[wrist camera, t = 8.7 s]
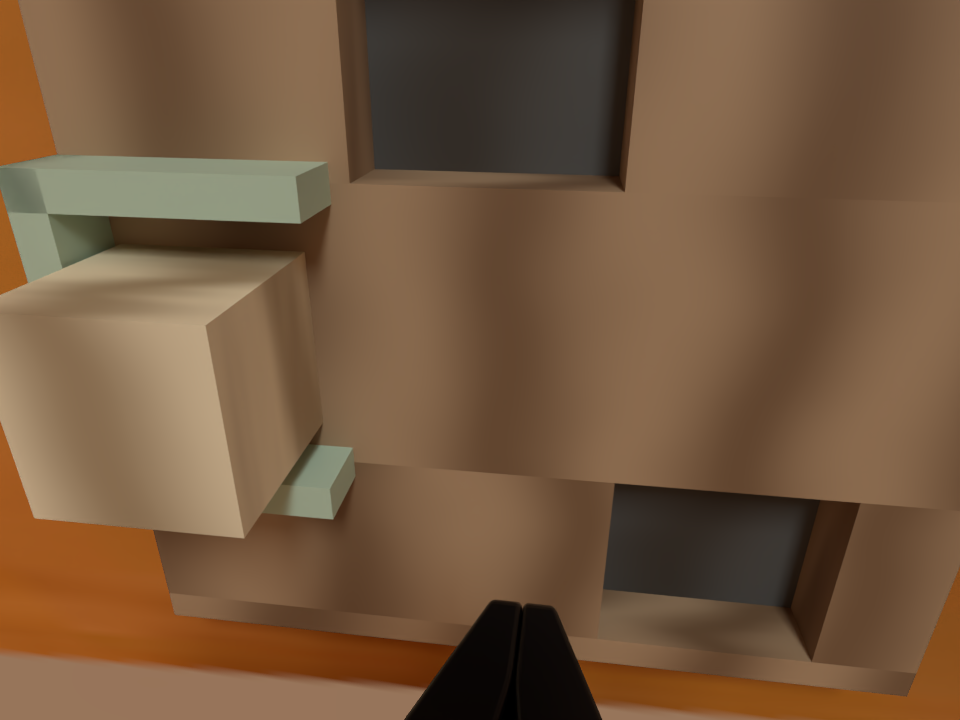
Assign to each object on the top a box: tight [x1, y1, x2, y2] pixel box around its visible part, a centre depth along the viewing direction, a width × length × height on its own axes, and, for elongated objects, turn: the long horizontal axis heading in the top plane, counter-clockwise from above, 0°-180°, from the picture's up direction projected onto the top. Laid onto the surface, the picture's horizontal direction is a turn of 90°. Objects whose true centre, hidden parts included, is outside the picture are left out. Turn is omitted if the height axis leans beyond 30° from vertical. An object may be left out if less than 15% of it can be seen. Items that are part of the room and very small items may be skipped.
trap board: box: [18, 0, 960, 696], centre depth 18 cm, size 24×22×2 cm
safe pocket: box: [0, 155, 355, 519], centre depth 17 cm, size 7×9×2 cm
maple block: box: [0, 244, 323, 538], centre depth 16 cm, size 5×5×5 cm
